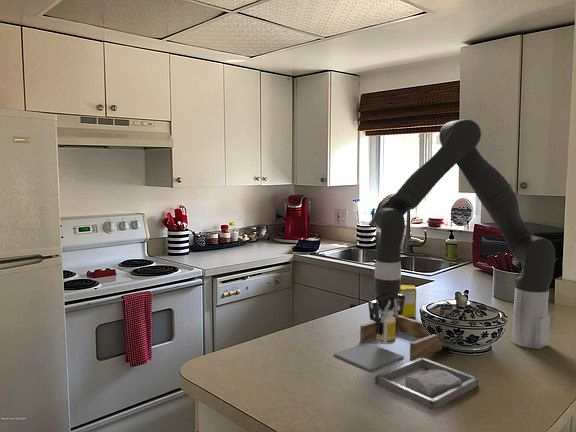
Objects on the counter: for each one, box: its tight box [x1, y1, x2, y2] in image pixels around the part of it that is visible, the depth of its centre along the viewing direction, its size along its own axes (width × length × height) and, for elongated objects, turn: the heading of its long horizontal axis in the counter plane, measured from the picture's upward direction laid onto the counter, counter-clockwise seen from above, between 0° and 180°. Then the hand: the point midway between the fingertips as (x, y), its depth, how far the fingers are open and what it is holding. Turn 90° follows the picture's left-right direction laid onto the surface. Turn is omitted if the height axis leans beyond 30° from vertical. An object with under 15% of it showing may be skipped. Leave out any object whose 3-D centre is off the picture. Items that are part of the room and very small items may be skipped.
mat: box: [333, 341, 405, 373], centre depth 142 cm, size 14×14×1 cm
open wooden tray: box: [359, 315, 443, 362], centre depth 151 cm, size 20×17×5 cm
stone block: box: [404, 369, 463, 399], centre depth 122 cm, size 12×5×10 cm
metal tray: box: [374, 357, 479, 411], centre depth 124 cm, size 17×19×2 cm
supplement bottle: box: [376, 309, 396, 345], centre depth 146 cm, size 5×5×10 cm
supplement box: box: [398, 284, 417, 320], centre depth 177 cm, size 6×6×11 cm
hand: (386, 331), depth 146 cm, fingers closed on supplement bottle, 5 cm apart
